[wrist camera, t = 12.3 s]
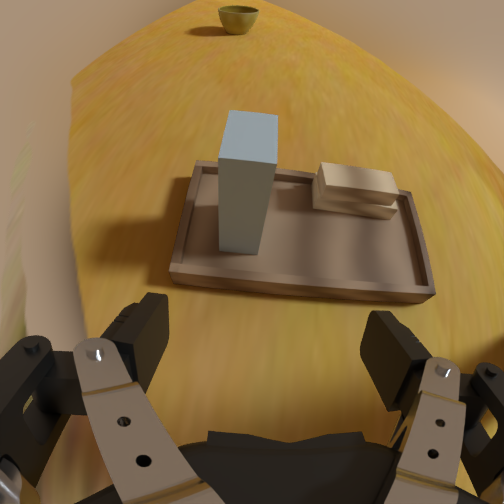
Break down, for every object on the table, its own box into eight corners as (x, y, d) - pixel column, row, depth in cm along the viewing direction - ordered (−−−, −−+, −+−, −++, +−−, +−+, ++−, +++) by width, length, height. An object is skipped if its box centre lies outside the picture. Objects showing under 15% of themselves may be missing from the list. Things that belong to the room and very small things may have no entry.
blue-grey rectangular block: (261, 208, 29) (278, 115, 19) (257, 255, 26) (276, 163, 16) (226, 204, 28) (229, 110, 19) (219, 250, 26) (218, 157, 16)
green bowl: (263, 36, 58) (266, 12, 52) (226, 39, 55) (228, 13, 49) (245, 26, 62) (247, 4, 56) (211, 29, 59) (212, 6, 53)
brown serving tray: (401, 204, 33) (410, 192, 31) (422, 303, 27) (435, 294, 24) (197, 176, 32) (196, 160, 30) (173, 283, 26) (168, 271, 23)
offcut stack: (384, 197, 31) (399, 174, 28) (390, 222, 29) (407, 199, 26) (311, 184, 31) (320, 158, 27) (313, 210, 29) (323, 184, 26)
